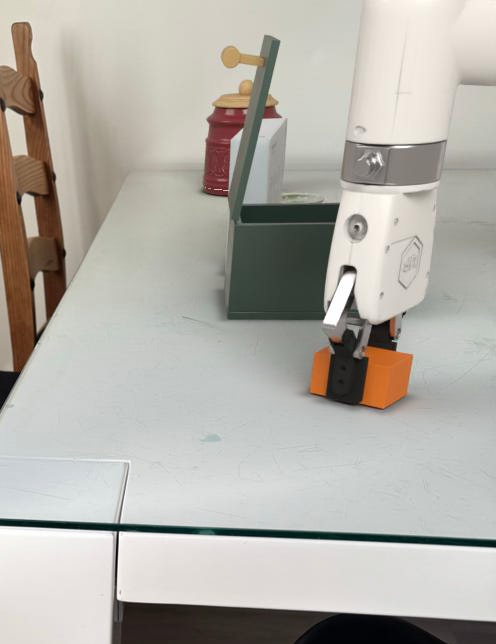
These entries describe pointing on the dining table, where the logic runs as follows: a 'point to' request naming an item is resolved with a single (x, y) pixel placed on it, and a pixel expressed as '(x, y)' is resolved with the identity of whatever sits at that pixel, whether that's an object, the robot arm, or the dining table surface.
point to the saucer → (301, 198)
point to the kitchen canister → (228, 134)
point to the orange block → (370, 375)
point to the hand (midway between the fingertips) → (358, 390)
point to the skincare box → (263, 164)
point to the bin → (279, 261)
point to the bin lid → (250, 114)
